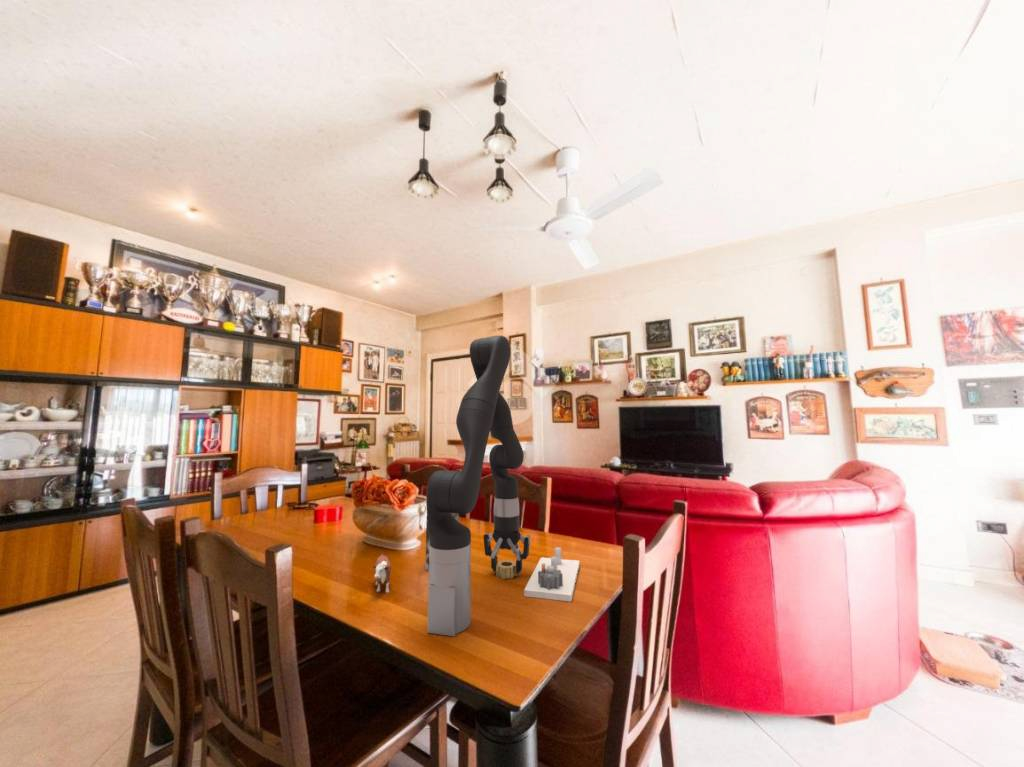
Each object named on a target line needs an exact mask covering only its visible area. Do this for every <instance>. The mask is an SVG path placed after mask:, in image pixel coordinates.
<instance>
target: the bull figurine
mask: <svg viewBox="0 0 1024 767" xmlns="http://www.w3.org/2000/svg"><path fill="white" fill-rule="evenodd" d="M373 569H374V576H373V577H374V579H375V580H376V581H375V586H376V587H377V588H376V593H380V592H381V584H382V585H383V584H384V583H385V586H386V587H385V593H386V594H389V593H390V587H389V585H390V578H391V572H392V564H391V562H390V560H389V558H388V556H386V555H384V554H381V555H380V556H378V557H377V558H376V561H375V564H374V565H373ZM385 581H386V582H385Z"/></svg>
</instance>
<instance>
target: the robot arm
mask: <svg viewBox="0 0 1024 767" xmlns="http://www.w3.org/2000/svg"><path fill="white" fill-rule="evenodd" d="M511 350H512V349H511V343H510V341H509V340H508V338H507V337H506V336H504V335H492V336H486V337H481V338H476V339H474V340H472V341H471V343H470V345H469V356H470V357H469V358H470V362H471V365H472V369H473V373H474V375H475V378H476V381H475V382H474V383H473V384H472V386H470V387H469V389H467V391H466V392H465V394H464V395H463V397H462V399H461V401H460V404H459V408H458V411H457V415H456V419H455V421H456V428H457V432H458V434H459V437H460V439H461V442H462V444H463V448H464V453H465V454H464V462H463V466H462V469H461V470H441V469H440V470H436V471H434V472H433V473H432V474H431V475H430V477H429V478H428V482H427V487H426V494H425V496H426V498H425V499H426V500H425V503H426V522H427V530H428V535H429V539H430V551H429V570H428V589H427V633H430V634H434V635H435V634H437V635H443V636H449V637H455V636H456V635H457V634H460V633H461V632H464V631H465V630H466V629H468V628H469V627H470V625H471V617H472V616H471V603H472V602H471V595H472V594H471V587H472V586H471V585H472V583H471V579H472V578H471V577H472V576H471V574H472V572H471V571H472V569H471V568H472V565H471V563H472V562H471V561H472V560H471V558H472V554H471V553H472V534H471V533H472V532H471V529H470V528H469V527H468V526H466V525H464V524H462V522H460V521H459V522H458V521H457V520H456V519H455V518H454V517H453V516H452V513H459V515H460V514H461V515H462V514H463V515H464V514H465V515H467V514H469V513H471V512H473V510H474V508H475V507H476V504H477V501H478V498H479V493H480V487H481V483H482V482H481V480H482V473H483V467H484V460H485V454H486V451H487V450H486V449H487V445H488V441H489V436H490V435H491V438H492V439H495V440H497V441H499V442H500V443H501V444H495V445H493V446H492V448H491V450H490V452H489V456H488V458H489V459H488V461H489V467H490V472H491V475H492V478H493V481H494V483H493V484H494V502H493V532H491V533H490V532H486V533H484V534H483V548H484V554H485V556H488V557H489V558H490V562H491V563H490V567H491V569H492V571H493V572H495V573H496V563H499V560H498V556H497V555H498V553H499V551H500V550H509V551H511V552H512V553H513V554H514V556H515V557H516V560H515V562H516V574H518V575H519V574H520V573H521V572H522V570H523V560H526V559H528V557H529V554H530V553H529V552H530V543H531V536H530V535H522V534H521V533H520V513H521V512H520V502H519V480H518V479H517V478H516V477H515V476H513V475H512V474H510V473H509V470H517V469H519V468H521V466H522V464H523V462H524V451H523V447H522V445H521V442H520V439H519V438H518V436H517V433H516V431H515V429H514V424H513V417H512V412H511V408H510V406H509V404H508V402H507V400H506V398H505V397H504V396H503V395H502V394H501V393H500V390H501V386H502V383H503V381H504V377H505V375H506V372H507V369H508V366H509V364H510V360H511V352H512V351H511ZM492 539H493V540H494V541H495V543H496V544H495V545H494V548H493V550H492V545H491V541H492ZM520 540H521V544H522V545H523V549H522V551H523V552H522V551H521V548H520V545H519V544H518V543H519V542H520Z"/></svg>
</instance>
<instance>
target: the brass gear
mask: <svg viewBox="0 0 1024 767" xmlns="http://www.w3.org/2000/svg"><path fill="white" fill-rule="evenodd" d="M495 575H496V578H501V579H502V580H506V578H507V579H511V580H512V578H513V579H514V576H515V577H518V576H517V575H519V574H516V561H512V560H511V559H507V560H500V561H498V563H496V572H495Z"/></svg>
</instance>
